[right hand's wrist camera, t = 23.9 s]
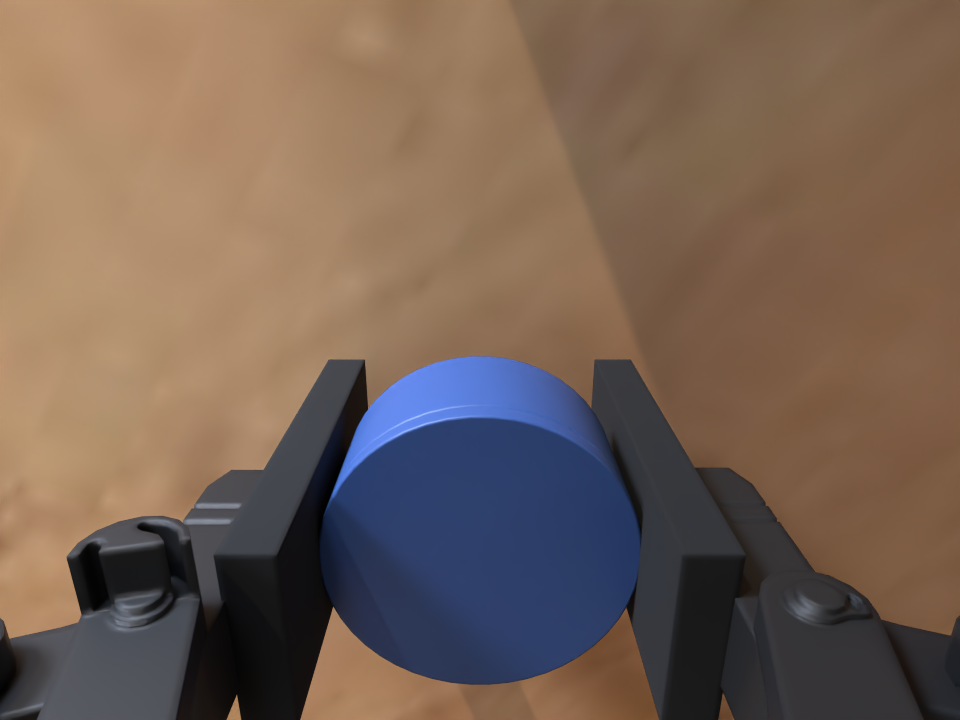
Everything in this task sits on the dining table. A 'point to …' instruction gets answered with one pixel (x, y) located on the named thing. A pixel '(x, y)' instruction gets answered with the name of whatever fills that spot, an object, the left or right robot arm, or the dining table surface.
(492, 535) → the lid
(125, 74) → the dining table surface
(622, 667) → the dining table surface
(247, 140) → the dining table surface
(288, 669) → the right robot arm
